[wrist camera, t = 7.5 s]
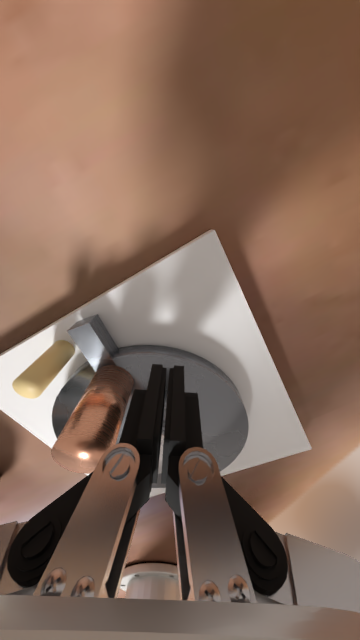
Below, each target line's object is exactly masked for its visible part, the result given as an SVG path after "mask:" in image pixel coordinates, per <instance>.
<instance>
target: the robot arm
mask: <svg viewBox="0 0 360 640" xmlns="http://www.w3.org/2000/svg"><path fill="white" fill-rule="evenodd" d="M166 370H167V368H164V367H163V365H162V364H152V368H151V373H150V377H149V382H148V387H147V390H141V389H135V390H134V392H133V395H132V399H131V402H130V406H129V409H128V413H127V416H126V420H125V423H124V427H123V430H122V434H121V437H120V441H119V444H115V445H113V446H111V447H110V448H108V449H107V450H106V451H105V452H104V453H103V455H102V456H101V458H100V460H99V462H98V464H97V466H96V468H95V470H94V471H93V472H92V473H90V474H89V475H88V476H86V477H85V478H84V479H82V480H81V481H80V482H79V483H77V484H76V485H75V486H73V487H72V488H71V489H69V490H68V491H67V492H65V493H64V494H63V495H61V496H60V497H59V498H57V499H56V500H55V501H53V502H52V503H51V504H49V505H48V506H47V507H45V508H44V509H43V510H42V511H40V512H39V513H38V514H36V515H35V516H34V517H32V518H31V519H30V520H29V521H27V522H22V523H18V522H17V521H15V522H11V523H6V524H2V525H0V640H360V563H359V562H358V561H357V560H356V559H354V558H352V557H351V556H349V555H347V554H344V553H341V552H338V551H336V550H333V549H330V548H327V547H324V546H321V545H319V544H316V543H313V542H310V541H307V540H305V539H301V538H299V537H296V536H293V535H290V534H288V533H286V534H285V535H282V534H280V533H277V532H275V531H274V530H273V529H272V528H271V527H270V526H269V525H268V524H267V523H266V522H265V521H264V519H263V518H262V517H261V516H260V515H259V514H258V513H257V512H256V511H255V510H254V509H253V508H252V507H251V506H250V505H249V504H248V503H247V502H246V501H245V500H244V499H243V498H242V497H241V496H240V495H239V494H238V493H237V492H236V491H235V490H234V489H233V488H232V487H231V486H230V485H229V484H228V483H227V482H226V481H225V480H224V479H223V478H222V477H221V475H220V471H219V468H218V464H217V462H216V460H215V458H214V457H213V455H212V454H211V453H210V452H208V451H207V450H206V449H203V441H202V431H201V420H200V410H199V399H198V393H189V392H185V384H184V366H177V365H174V368H170V369H169V381H168V394H167V406H166V418H165V430H164V443H163V458H162V473H161V484H166V490H165V493H166V495H165V500H166V502H167V503H168V505H169V506H170V507H171V509H172V510H173V520H174V532H175V543H176V555H177V566H176V565H171V564H164V563H142V564H136V565H132V566H129V567H127V568H125V566H126V562H127V558H128V554H129V550H130V547H131V543H132V539H133V535H134V531H135V528H136V524H137V520H138V516H139V512H140V508H141V507H142V506H143V505H144V504H145V503H146V502H147V501H148V500H149V497H150V492H151V488H152V483H157V478H158V468H159V457H160V446H161V436H162V425H163V415H164V402H165V386H166ZM119 588H121V589H122V590H124V591H126V595H125V598H117V596H118V592H119Z"/></svg>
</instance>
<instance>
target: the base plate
mask: <svg viewBox="0 0 360 640" xmlns="http://www.w3.org/2000/svg"><path fill="white" fill-rule="evenodd" d="M96 314H98V316H99V317H100V319H101V321H102V322H103V324H104V326H105V327H106V329H107V330H108V332H109V334H110V335H111V337H112V339H113V340H114V342H115V344H116V345H117V347H118V348H120V347H126V346H133V345H159V346H167V347H172V348H178V349H181V350H184V351H187V352H191V353H193V354H195V355H198V356H200V357H202V358H204V359H206V360H208V361H209V362H211V363H213V364H214V365H216V366H217V367H218V368H219V369H221V370H222V371H223V372H224V373H225V374H226V375H227V376H228V377H229V378H230V379H231V380H232V382H233V383H234V385H235V386H236V388H237V389H238V391H239V394H240V396H241V398H242V401H243V404H244V407H245V410H246V413H247V417H248V426H249V430H248V436H247V440H246V443H245V446H244V447H243V449H242V451H241V453H240V454H239V455H238V456H237V458H236V459H235V460H234V461H233V462H232V463H231V464H230V465H229V466H227V467H226V468H225V469H223V470H222V471H220V475H221V476H223V475H227V474H230V473H233V472H237V471H240V470H243V469H247V468H250V467H254V466H257V465H260V464H264V463H267V462H270V461H274V460H277V459H280V458H284V457H287V456H290V455H294V454H297V453H301V452H304V451H307V450H311V449H312V448H311V445H310V443H309V441H308V439H307V436H306V434H305V432H304V430H303V427H302V425H301V423H300V421H299V418H298V416H297V414H296V412H295V409H294V407H293V405H292V403H291V400H290V398H289V396H288V394H287V391H286V389H285V387H284V385H283V382H282V380H281V378H280V376H279V373H278V371H277V369H276V367H275V364H274V362H273V360H272V358H271V355H270V353H269V351H268V349H267V346H266V344H265V342H264V340H263V337H262V335H261V333H260V331H259V328H258V326H257V324H256V322H255V319H254V317H253V315H252V313H251V310H250V308H249V306H248V304H247V301H246V299H245V297H244V295H243V292H242V290H241V288H240V286H239V283H238V281H237V279H236V277H235V274H234V272H233V270H232V268H231V265H230V263H229V261H228V259H227V256H226V254H225V252H224V250H223V247H222V245H221V243H220V240H219V238H218V236H217V234H216V231H215V230H212V229H210V230H209V231H207V232H205V233H204V234H202V235H200V236H199V237H197V238H195V239H194V240H192V241H190V242H188V243H187V244H185V245H183V246H182V247H180V248H178V249H177V250H175V251H173V252H172V253H170V254H168V255H167V256H165V257H163V258H162V259H160V260H158V261H156V262H155V263H153V264H151V265H150V266H148V267H146V268H145V269H143V270H141V271H140V272H138V273H136V274H135V275H133V276H131V277H129V278H128V279H126V280H124V281H123V282H121V283H119V284H118V285H116V286H114V287H113V288H111V289H109V290H108V291H106V292H104V293H102V294H101V295H99V296H97V297H96V298H94V299H92V300H91V301H89V302H87V303H86V304H84V305H82V306H81V307H79V308H77V309H75V310H74V311H72V312H70V313H69V314H67V315H65V316H64V317H62V318H60V319H59V320H57V321H55V322H54V323H52V324H50V325H48V326H47V327H45V328H43V329H42V330H40V331H38V332H37V333H35V334H33V335H32V336H30V337H28V338H27V339H25V340H23V341H22V342H20V343H18V344H16V345H15V346H13V347H11V348H10V349H8V350H6V351H5V352H3V353H1V354H0V410H2V411H3V412H4V413H6V414H7V415H8V416H10V417H11V418H12V419H14V420H15V421H16V422H18V423H19V424H20V425H21V426H23V427H24V428H25V429H27V430H28V431H29V432H31V433H32V434H33V435H35V436H36V437H37V438H39V439H40V440H41V441H42V442H44V443H45V444H46V445H48V446H49V447H50V448H52V447H53V445H54V444H55V442H56V440H57V438H56V435H55V433H54V429H53V426H52V410H53V405H54V402H55V400H56V397H57V396H58V394H59V392H60V391H61V389H62V388H63V386H64V385H65V384H66V382H67V381H68V380H69V378H70V377H71V376H72V374H73V373H74V372H75V371H76V370H77V369H78V368H79V367H80V366H82V365H83V364H84V363H85V362H87V361H88V360H87V359H86V358H85V356H84V355H83V353H82V352H81V351H80V349H79V348H78V346H77V345H76V344H75V342H74V341H73V339H72V338H71V336H70V335H69V334H68V332H67V330H68V329H70V328H71V327H72V326H73V325H74V324H75V323H76V322H77V321H80V320H83V319H85V318H88V317H90V316H93V315H96ZM86 475H87V476H88V475H89V474H86ZM165 490H166V488H151V492H150V497H153V496H156V495H160V494H163V493H165Z"/></svg>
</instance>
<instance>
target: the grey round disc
mask: <svg viewBox="0 0 360 640" xmlns="http://www.w3.org/2000/svg"><path fill="white" fill-rule="evenodd" d="M67 332H68V334H69V335H70V336H71V338H72V339H73V341H74V342H75V344H76V345H77V346H78V348H79V349H80V351H81V352H82V353H83V355H84V356H85V358H86V359H87V360H88V361H87V362H85V363H84V364H83V365H82V366H80V367H79V368H78V369H77V370H76V371H75V372H74V373H73V374H72V376H71V377H70V378H69V380H68V381H67V382H66V384H65V385H64V386H63V388H62V389H61V391H60V392H59V394H58V396H57V397H56V400H55V402H54V405H53V410H52V426H53V429H54V433H55V435H56V438H57V440H56V442H55V444H54V445H53V447H52V450H51V454H52V457H53V459H54V460H55V461H56V463H58V464H59V465H60V466H62V467H63V468H65V469H67V470H70V471H73V472H77V473H84V474H90V473H92V472H93V471H94V470H95V468H96V466H97V464H98V462H99V460H100V458H101V456H102V455H103V453H104V452H105V451H106V450H107V449H108V448H110V447H111V446H113V445H115V444H119V441H120V437H121V434H122V430H123V427H124V423H125V420H126V416H127V413H128V409H129V406H130V402H131V399H132V395H133V392H134V390H135V389H141V390H147V387H148V382H149V377H150V373H151V368H152V364H162V365H163V367H164V368H167V370H166V386H165V402H164V415H163V425H162V436H161V446H160V457H159V468H158V478H157V483H152V488H166V484H161V473H162V458H163V443H164V430H165V418H166V406H167V394H168V381H169V369H170V368H174V365H177V366H184V384H185V392H189V393H198V399H199V410H200V420H201V431H202V441H203V449H206V450H207V451H208V452H210V453H211V454H212V455H213V457H214V458H215V460H216V462H217V464H218V468H219V471H222V470H223V469H225V468H226V467H227V466H229V465H230V464H231V463H232V462H233V461H234V460H235V459H236V458H237V456H238V455H239V454H240V453H241V451H242V449H243V447H244V446H245V443H246V440H247V436H248V430H249V426H248V417H247V413H246V410H245V407H244V404H243V401H242V398H241V396H240V394H239V391H238V389H237V388H236V386H235V385H234V383H233V382H232V380H231V379H230V378H229V377H228V376H227V375H226V374H225V373H224V372H223V371H222V370H221V369H219V368H218V367H217V366H216V365H214V364H213V363H211V362H209V361H208V360H206V359H204V358H202V357H200V356H198V355H195V354H193V353H191V352H187V351H184V350H181V349H178V348H172V347H167V346H159V345H133V346H126V347H120V348H118V347H117V345H116V344H115V342H114V340H113V339H112V337H111V335H110V334H109V332H108V330H107V329H106V327H105V326H104V324H103V322H102V321H101V319H100V317H99V316H98V314H96V315H93V316H90V317H88V318H85V319H83V320H80V321H77V322H76V323H75V324H74V325H73V326H72V327H71V328H70V329H68V330H67Z"/></svg>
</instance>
